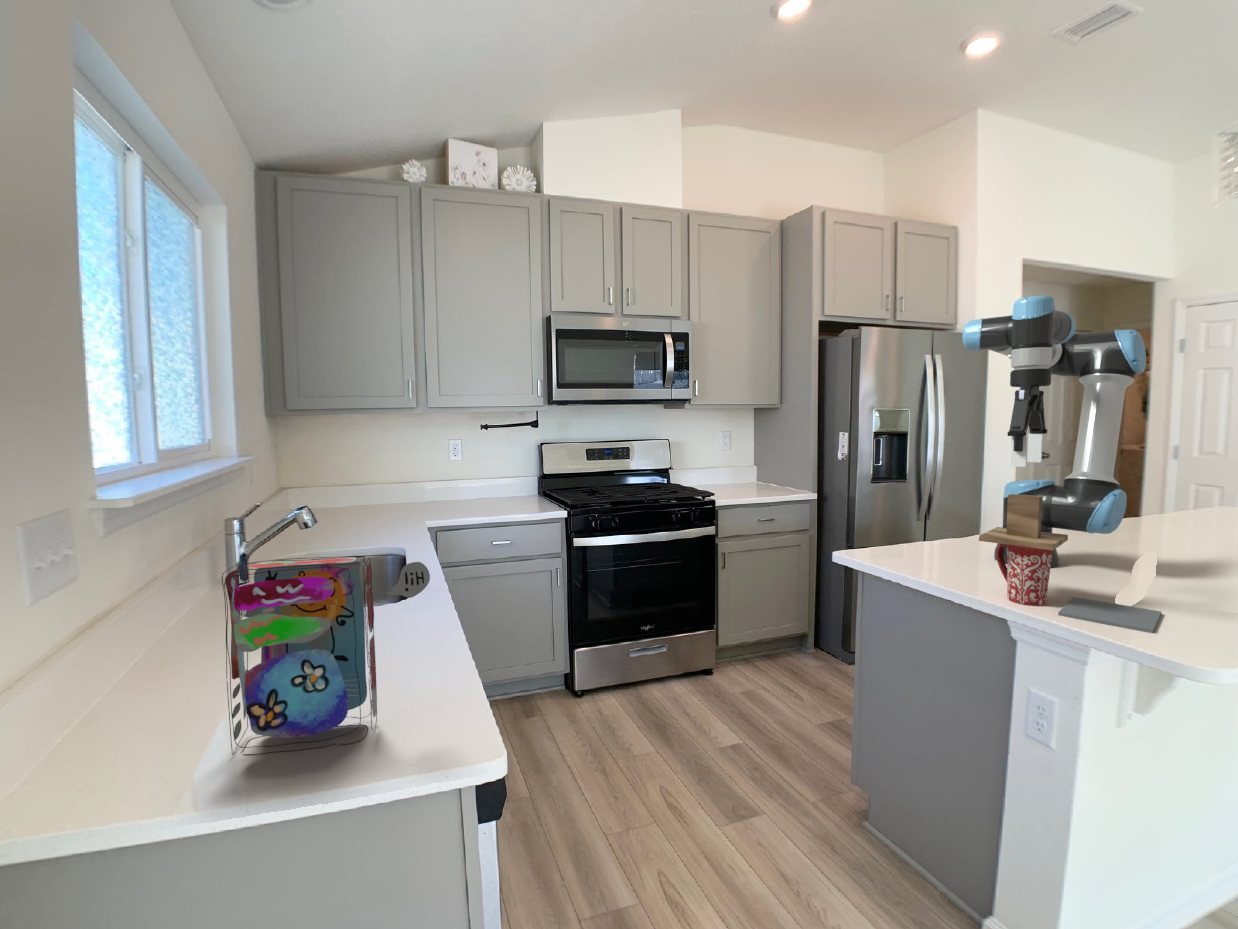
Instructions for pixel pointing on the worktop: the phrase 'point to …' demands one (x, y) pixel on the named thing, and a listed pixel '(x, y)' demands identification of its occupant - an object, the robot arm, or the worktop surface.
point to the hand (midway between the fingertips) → (1026, 464)
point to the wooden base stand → (1024, 525)
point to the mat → (1111, 614)
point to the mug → (1025, 573)
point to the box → (305, 643)
